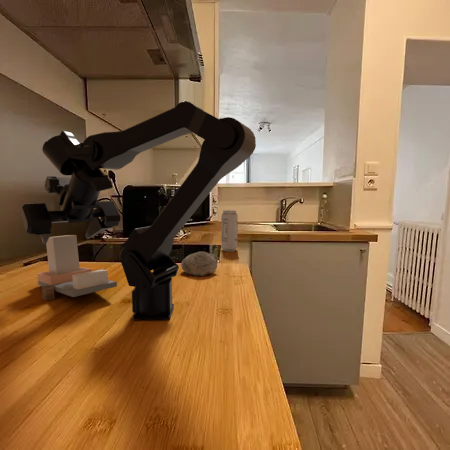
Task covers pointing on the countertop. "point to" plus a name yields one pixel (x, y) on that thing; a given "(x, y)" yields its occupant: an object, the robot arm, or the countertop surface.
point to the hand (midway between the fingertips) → (66, 239)
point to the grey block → (62, 254)
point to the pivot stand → (47, 293)
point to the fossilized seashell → (199, 264)
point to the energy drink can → (229, 230)
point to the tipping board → (76, 292)
